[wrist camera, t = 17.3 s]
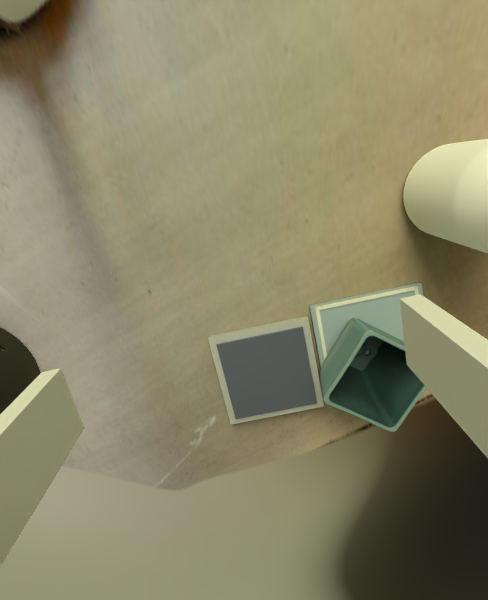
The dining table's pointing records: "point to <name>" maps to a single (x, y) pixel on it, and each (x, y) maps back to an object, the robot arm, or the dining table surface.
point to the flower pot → (370, 376)
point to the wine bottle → (451, 193)
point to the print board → (360, 315)
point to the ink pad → (267, 370)
